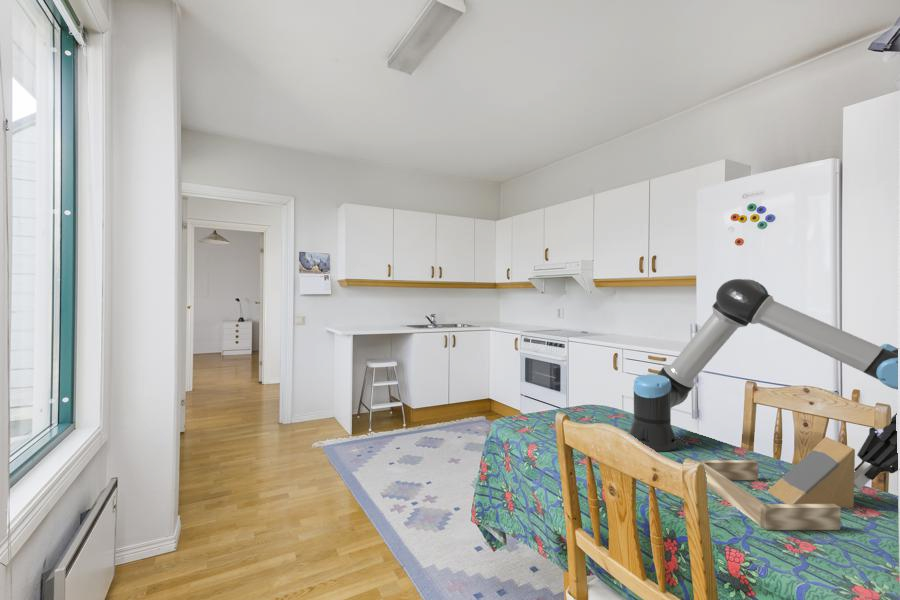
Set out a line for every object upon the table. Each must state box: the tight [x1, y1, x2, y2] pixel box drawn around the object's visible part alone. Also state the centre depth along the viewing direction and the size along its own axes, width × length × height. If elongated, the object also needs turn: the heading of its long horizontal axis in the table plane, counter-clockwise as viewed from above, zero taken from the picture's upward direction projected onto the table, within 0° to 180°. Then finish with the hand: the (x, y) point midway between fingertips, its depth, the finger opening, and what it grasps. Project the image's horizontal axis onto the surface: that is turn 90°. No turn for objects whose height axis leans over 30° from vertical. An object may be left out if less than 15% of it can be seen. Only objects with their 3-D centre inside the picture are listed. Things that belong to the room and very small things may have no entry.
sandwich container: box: [766, 436, 856, 509], centre depth 106 cm, size 9×15×15 cm, turn 87°
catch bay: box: [695, 459, 842, 531], centre depth 105 cm, size 17×26×5 cm, turn 0°
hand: (853, 484), depth 105 cm, fingers closed
